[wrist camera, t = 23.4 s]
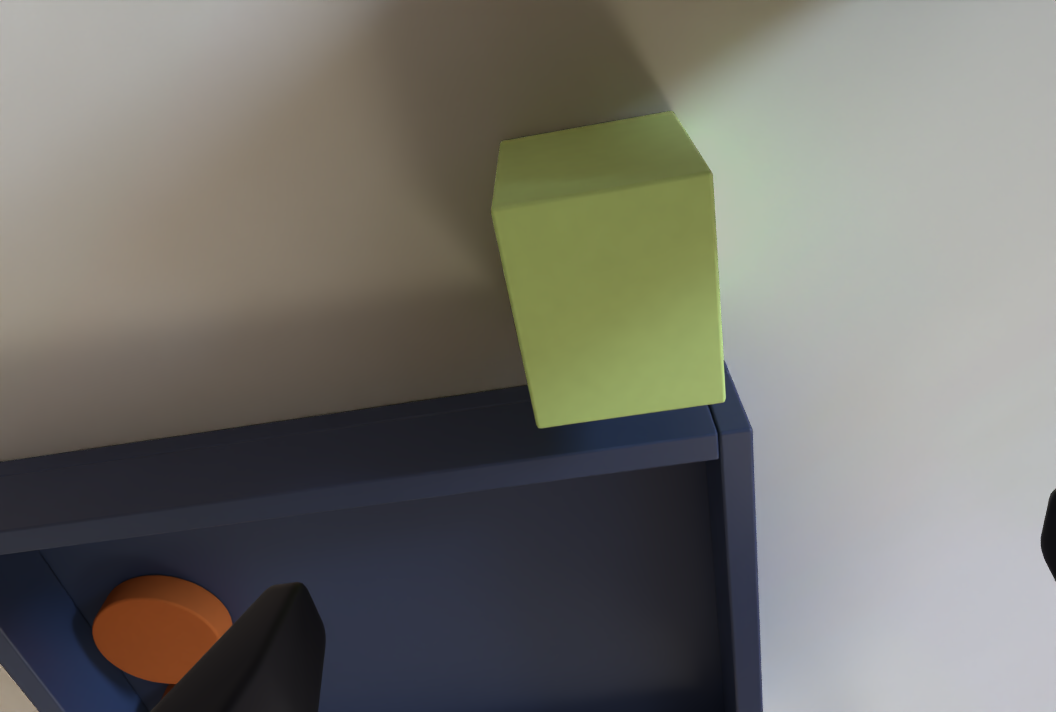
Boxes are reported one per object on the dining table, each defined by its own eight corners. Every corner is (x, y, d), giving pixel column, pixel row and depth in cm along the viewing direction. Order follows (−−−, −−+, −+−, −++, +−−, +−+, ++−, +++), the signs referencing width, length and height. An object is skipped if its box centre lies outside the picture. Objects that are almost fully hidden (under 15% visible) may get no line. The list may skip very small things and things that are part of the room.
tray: (723, 355, 21) (753, 428, 18) (743, 713, 29) (766, 804, 26) (-19, 463, 23) (-97, 544, 20) (190, 770, 31) (155, 859, 28)
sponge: (673, 109, 17) (713, 171, 14) (689, 304, 20) (726, 403, 16) (499, 140, 18) (489, 209, 14) (536, 328, 20) (536, 430, 16)
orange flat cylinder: (205, 566, 24) (193, 591, 23) (251, 651, 26) (242, 678, 25) (84, 581, 24) (67, 607, 23) (138, 664, 26) (125, 691, 25)
